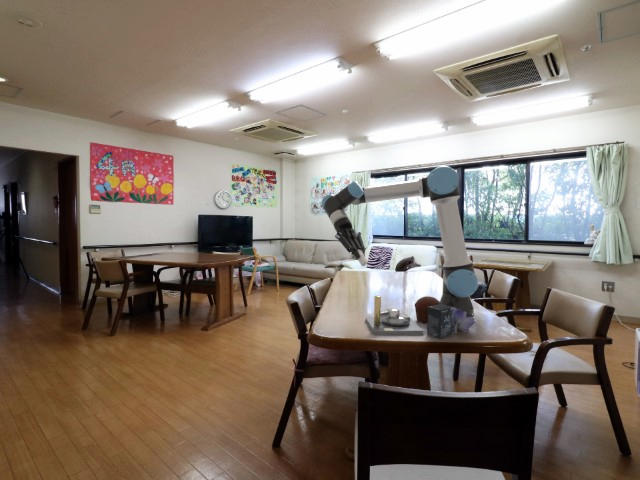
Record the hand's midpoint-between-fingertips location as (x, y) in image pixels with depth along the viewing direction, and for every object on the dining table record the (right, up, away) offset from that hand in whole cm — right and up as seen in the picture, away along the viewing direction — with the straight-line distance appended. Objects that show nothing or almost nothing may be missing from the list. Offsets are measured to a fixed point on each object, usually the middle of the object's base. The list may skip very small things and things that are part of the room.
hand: (364, 264), depth 132 cm
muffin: (+27, -24, +4) cm, 36 cm away
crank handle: (+9, -22, -6) cm, 25 cm away
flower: (+35, -25, -9) cm, 44 cm away
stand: (+10, -24, -5) cm, 27 cm away
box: (+25, -25, -13) cm, 38 cm away
